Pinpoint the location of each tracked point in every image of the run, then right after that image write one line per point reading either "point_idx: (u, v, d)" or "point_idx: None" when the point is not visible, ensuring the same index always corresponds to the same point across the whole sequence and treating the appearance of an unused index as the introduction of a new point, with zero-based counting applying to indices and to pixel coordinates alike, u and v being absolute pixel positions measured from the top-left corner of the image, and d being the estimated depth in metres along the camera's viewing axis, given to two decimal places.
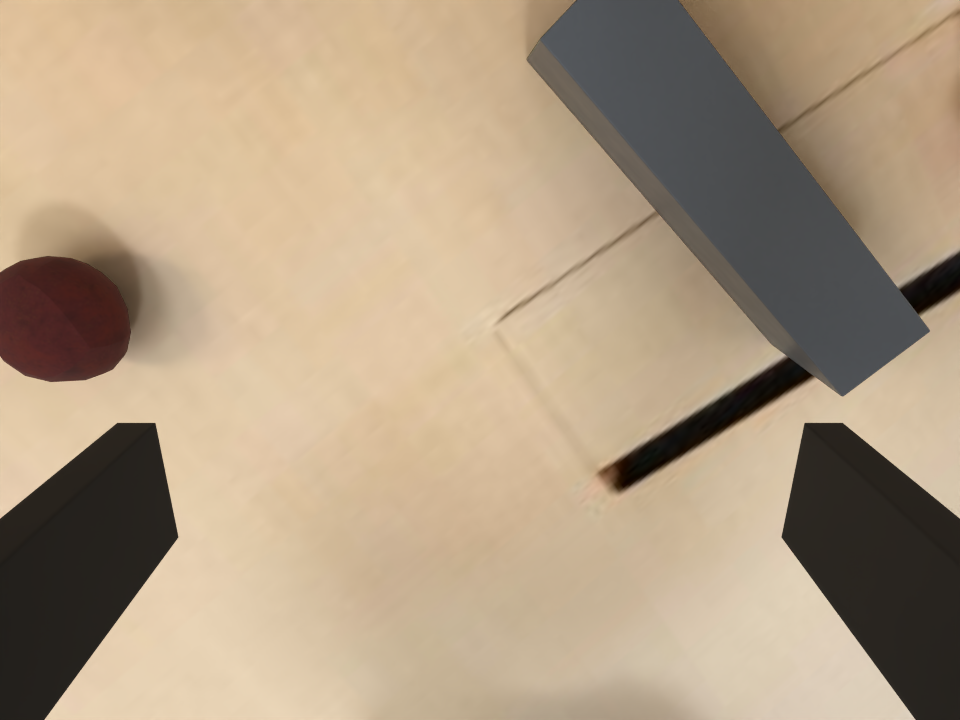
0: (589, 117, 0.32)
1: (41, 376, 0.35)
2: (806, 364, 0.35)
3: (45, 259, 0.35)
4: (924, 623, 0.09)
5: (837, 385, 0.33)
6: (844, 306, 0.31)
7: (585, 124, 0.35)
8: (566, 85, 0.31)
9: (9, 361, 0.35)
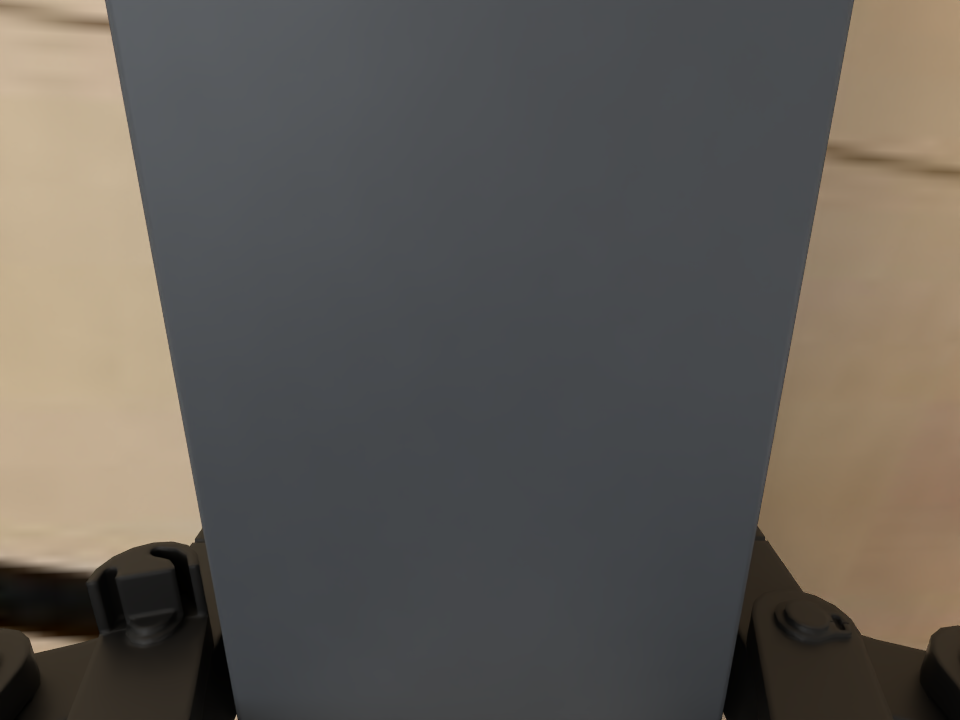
0: None
1: None
2: None
3: None
4: None
5: None
6: None
7: None
8: None
9: None
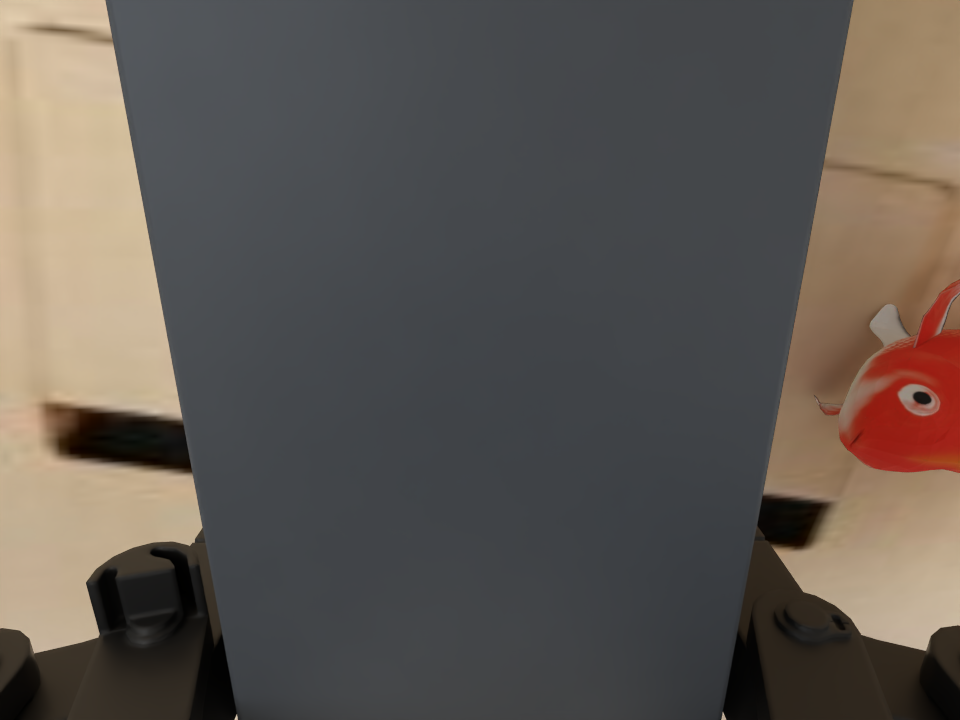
0: None
1: None
2: None
3: None
4: None
5: None
6: None
7: None
8: None
9: None
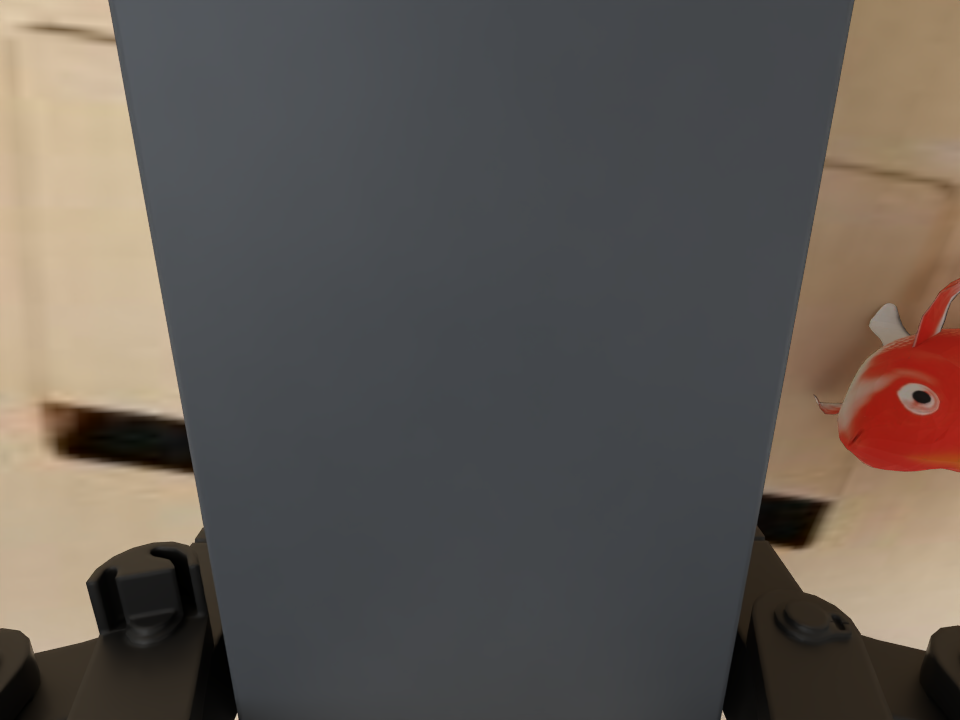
0: None
1: None
2: None
3: None
4: None
5: None
6: None
7: None
8: None
9: None
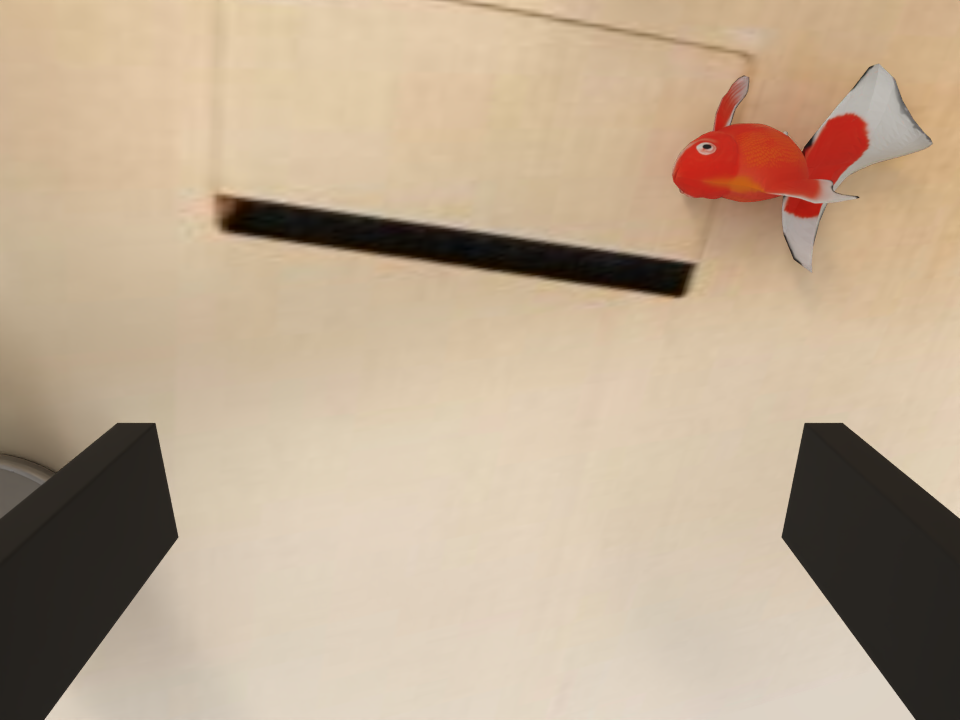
0: None
1: None
2: None
3: None
4: (923, 623, 0.09)
5: None
6: None
7: None
8: None
9: None
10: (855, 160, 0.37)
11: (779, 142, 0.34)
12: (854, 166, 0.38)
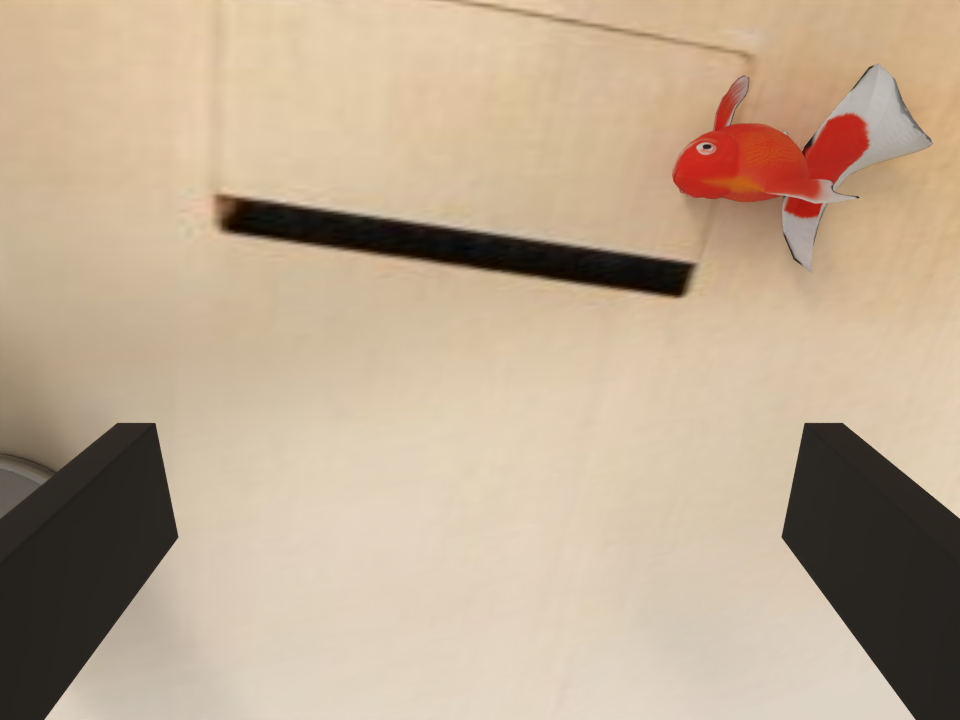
0: None
1: None
2: None
3: None
4: (923, 623, 0.09)
5: None
6: None
7: None
8: None
9: None
10: (855, 160, 0.37)
11: (779, 142, 0.34)
12: (854, 166, 0.38)
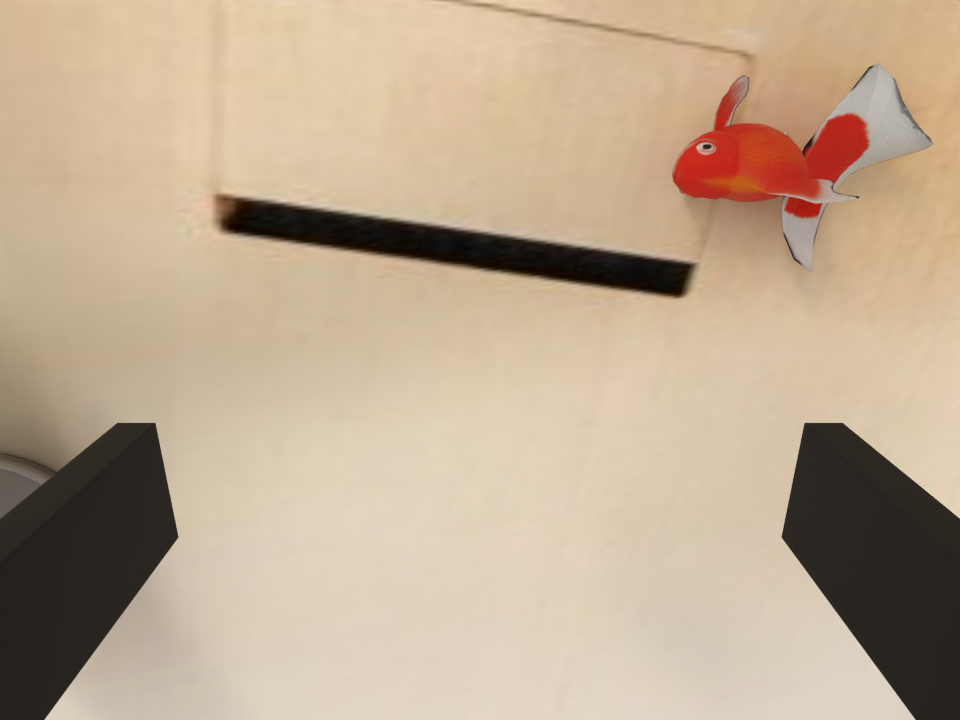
0: None
1: None
2: None
3: None
4: (923, 623, 0.09)
5: None
6: None
7: None
8: None
9: None
10: (855, 160, 0.37)
11: (779, 142, 0.34)
12: (854, 166, 0.38)
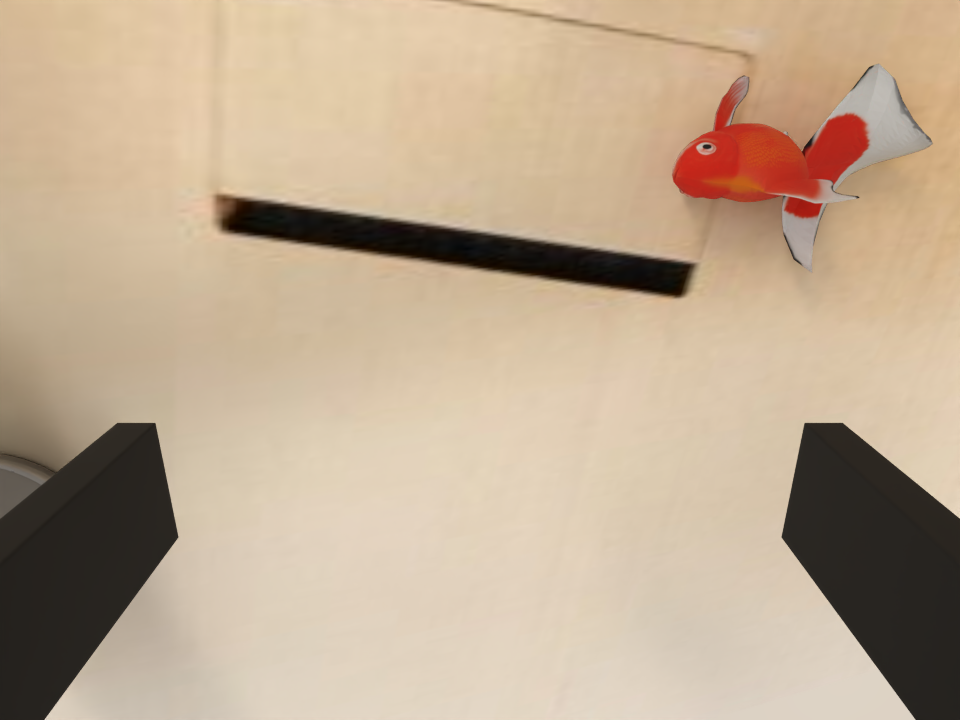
0: None
1: None
2: None
3: None
4: (923, 623, 0.09)
5: None
6: None
7: None
8: None
9: None
10: (855, 160, 0.37)
11: (779, 142, 0.34)
12: (854, 166, 0.38)
